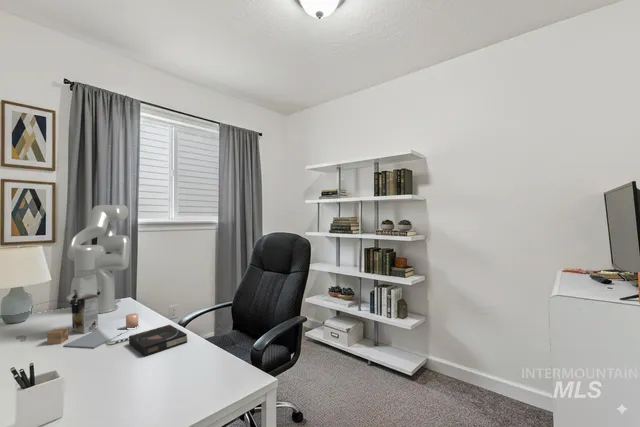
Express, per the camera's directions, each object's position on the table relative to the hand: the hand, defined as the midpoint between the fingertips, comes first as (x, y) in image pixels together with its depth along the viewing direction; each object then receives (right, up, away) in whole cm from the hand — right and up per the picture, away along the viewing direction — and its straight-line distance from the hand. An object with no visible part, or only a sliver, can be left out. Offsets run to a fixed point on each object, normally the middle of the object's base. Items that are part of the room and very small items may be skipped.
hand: (85, 309), depth 141 cm
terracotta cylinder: (+20, -9, +3) cm, 23 cm away
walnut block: (-2, -10, -13) cm, 16 cm away
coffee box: (0, -10, 0) cm, 10 cm away
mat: (+13, -9, -10) cm, 19 cm away
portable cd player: (+42, -10, -15) cm, 46 cm away
